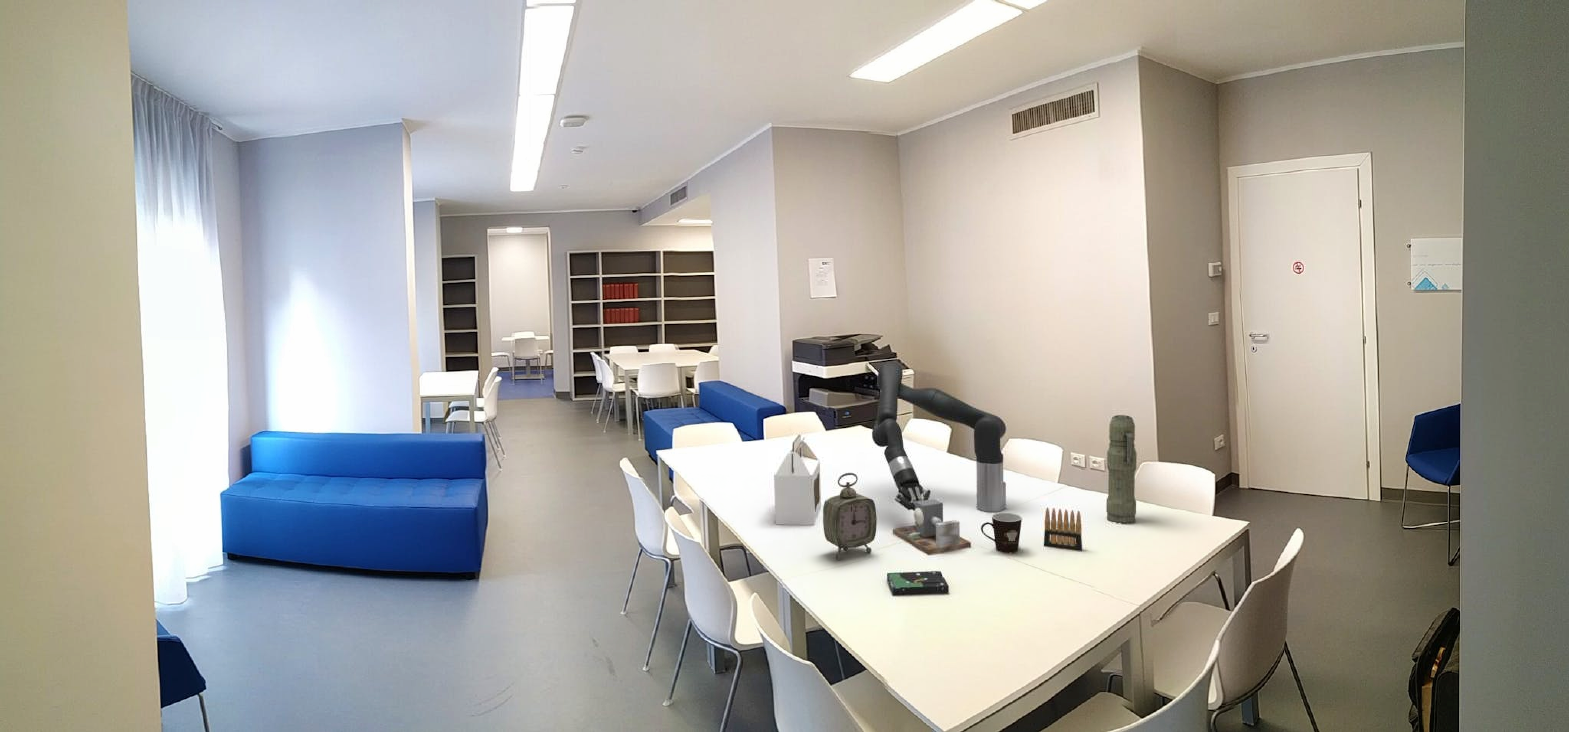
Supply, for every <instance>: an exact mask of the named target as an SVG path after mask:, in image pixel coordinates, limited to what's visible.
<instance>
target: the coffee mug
mask: <svg viewBox="0 0 1569 732" xmlns="http://www.w3.org/2000/svg"><path fill="white" fill-rule="evenodd" d="M991 519H992V522H990V521H989V522H988V521H987V522H986V521H985V522H983V523H982V525H981V527H980V530H981V533H982V534H983V535H984V536H985V537H987V538H988V539H990V540H991V541H993V542H994V543H995V550H996V551H997V552H999V553H1004V554H1015V553H1017V552H1019V547H1020V536H1021V530H1022V529H1021V528H1022V519H1023V517H1022V516H1021V515H1020V514H1016V513H1012V512H998V513H994V514H992V515H991ZM986 525H990V526H991V527H992V529H993V534H994V535H993V536H994V538H993V537H991V536H989V534H986V533H985V531H984V527H985V526H986Z"/></svg>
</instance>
